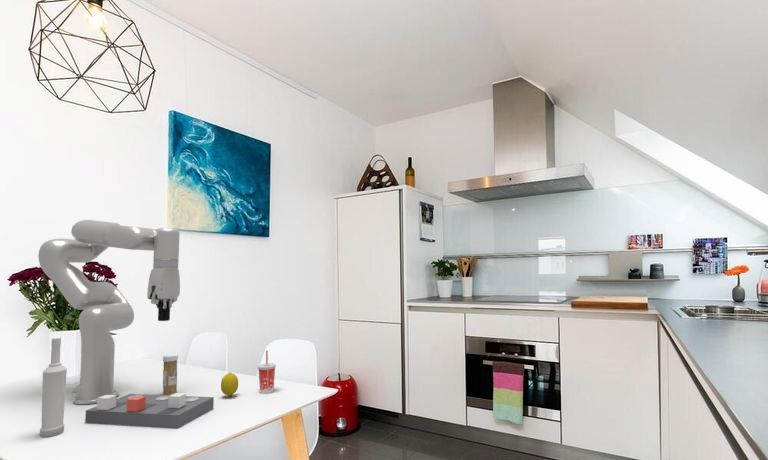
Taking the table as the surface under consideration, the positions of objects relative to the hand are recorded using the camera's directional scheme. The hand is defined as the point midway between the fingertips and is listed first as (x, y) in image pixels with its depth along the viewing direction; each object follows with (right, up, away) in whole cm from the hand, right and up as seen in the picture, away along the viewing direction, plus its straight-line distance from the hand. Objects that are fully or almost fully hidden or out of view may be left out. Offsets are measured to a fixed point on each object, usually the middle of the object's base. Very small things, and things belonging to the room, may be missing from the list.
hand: (163, 320), depth 139 cm
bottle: (-16, -25, -27) cm, 40 cm away
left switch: (-7, -21, -18) cm, 29 cm away
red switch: (+3, -21, -20) cm, 29 cm away
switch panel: (+4, -25, -15) cm, 29 cm away
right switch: (+13, -21, -18) cm, 31 cm away
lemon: (+21, -26, +2) cm, 34 cm away
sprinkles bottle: (-1, -27, +7) cm, 28 cm away
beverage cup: (+32, -27, +7) cm, 42 cm away
